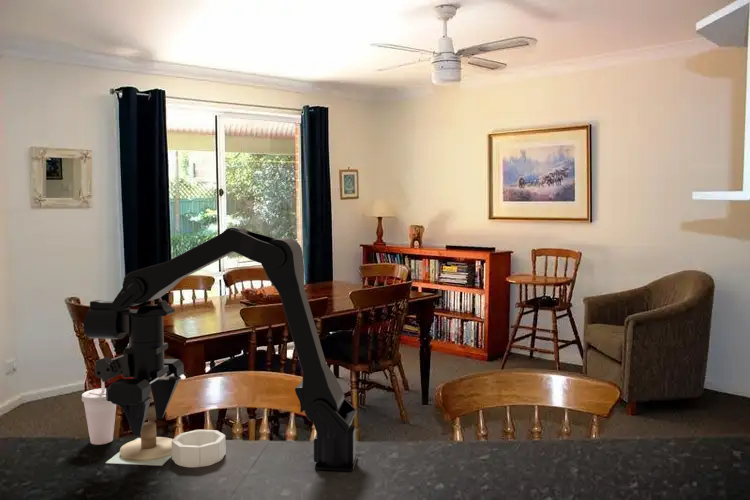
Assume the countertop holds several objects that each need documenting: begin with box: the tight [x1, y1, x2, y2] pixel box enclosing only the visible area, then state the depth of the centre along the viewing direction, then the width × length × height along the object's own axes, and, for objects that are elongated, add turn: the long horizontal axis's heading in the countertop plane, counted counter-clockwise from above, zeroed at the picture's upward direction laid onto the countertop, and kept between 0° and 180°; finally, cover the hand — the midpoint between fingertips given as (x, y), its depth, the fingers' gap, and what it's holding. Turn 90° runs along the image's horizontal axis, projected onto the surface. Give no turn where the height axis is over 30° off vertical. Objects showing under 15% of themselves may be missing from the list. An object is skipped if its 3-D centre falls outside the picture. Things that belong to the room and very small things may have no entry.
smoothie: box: [81, 378, 117, 446], centre depth 121 cm, size 6×6×14 cm
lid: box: [119, 421, 174, 461], centre depth 117 cm, size 10×10×5 cm
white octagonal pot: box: [171, 429, 227, 468], centre depth 114 cm, size 8×8×4 cm
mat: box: [105, 437, 172, 467], centre depth 117 cm, size 10×12×1 cm
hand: (148, 426), depth 116 cm, fingers open, 9 cm apart
